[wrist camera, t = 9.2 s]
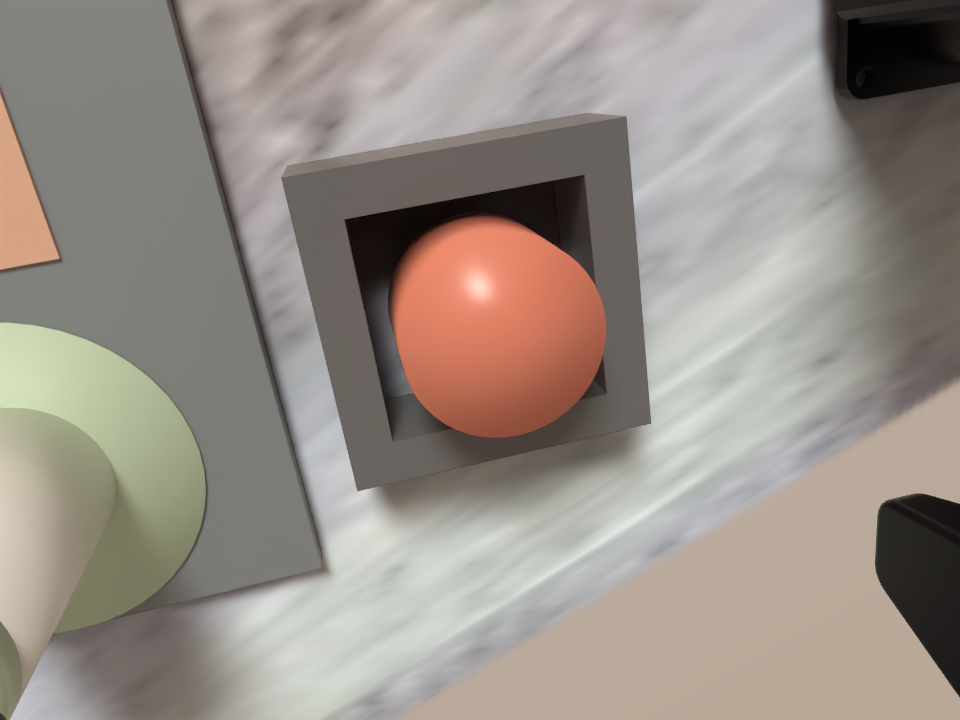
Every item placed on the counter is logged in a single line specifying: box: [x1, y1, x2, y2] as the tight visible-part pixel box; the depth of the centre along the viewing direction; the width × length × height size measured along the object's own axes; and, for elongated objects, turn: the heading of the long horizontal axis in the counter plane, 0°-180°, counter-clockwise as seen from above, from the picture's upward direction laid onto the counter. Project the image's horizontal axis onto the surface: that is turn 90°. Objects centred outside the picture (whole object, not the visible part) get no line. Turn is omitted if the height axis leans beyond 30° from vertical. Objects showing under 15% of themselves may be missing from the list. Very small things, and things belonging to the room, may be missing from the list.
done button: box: [388, 212, 606, 438], centre depth 16 cm, size 4×4×3 cm
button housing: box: [281, 113, 651, 491], centre depth 17 cm, size 7×7×2 cm
